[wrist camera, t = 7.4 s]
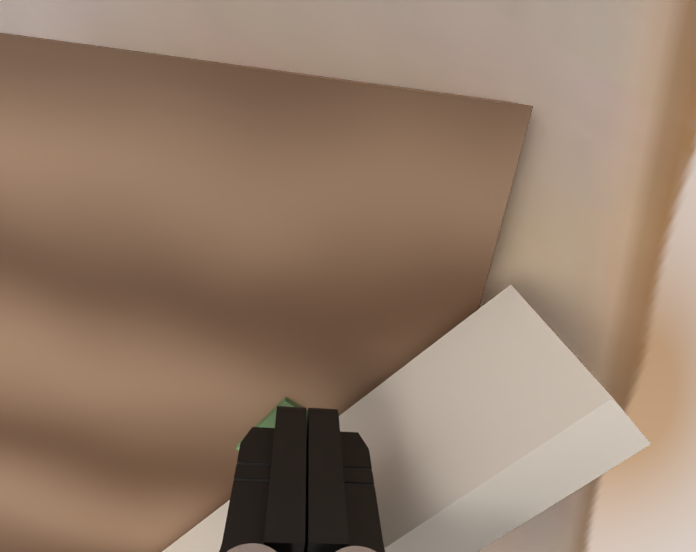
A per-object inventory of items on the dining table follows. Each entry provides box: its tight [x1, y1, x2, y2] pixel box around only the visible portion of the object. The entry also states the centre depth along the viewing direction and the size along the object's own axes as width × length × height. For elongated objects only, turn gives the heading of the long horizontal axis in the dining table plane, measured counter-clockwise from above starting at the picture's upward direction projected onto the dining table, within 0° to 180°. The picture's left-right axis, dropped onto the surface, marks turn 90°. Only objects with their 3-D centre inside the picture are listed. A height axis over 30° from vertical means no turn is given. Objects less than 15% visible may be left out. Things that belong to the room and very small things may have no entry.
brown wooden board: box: [0, 33, 533, 552], centre depth 16 cm, size 24×16×2 cm, turn 173°
